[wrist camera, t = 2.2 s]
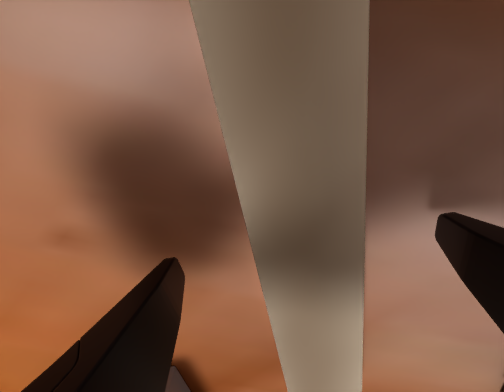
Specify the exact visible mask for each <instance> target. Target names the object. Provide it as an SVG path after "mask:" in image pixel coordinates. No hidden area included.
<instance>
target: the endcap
mask: <svg viewBox="0 0 504 392" xmlns="http://www.w3.org/2000/svg"><path fill="white" fill-rule="evenodd" d="M165 392H191V391H190V389H189V388H188V386H187V385H186V383H185V381H184V380H183V378H182V377H181V375H180V373H179V372H178V370H177V369H176V367H175V366H173V367H170V372H169V376H168V381H167V386H166V390H165Z"/></svg>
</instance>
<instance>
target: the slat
mask: <svg viewBox="0 0 504 392" xmlns="http://www.w3.org/2000/svg"><path fill="white" fill-rule="evenodd" d="M189 2H190V6H191V10H192V14H193V18H194V22H195V26H196V30H197V34H198V38H199V42H200V46H201V50H202V54H203V58H204V62H205V65H206V69H207V73H208V77H209V81H210V85H211V89H212V93H213V97H214V101H215V105H216V109H217V113H218V117H219V121H220V125H221V129H222V133H223V137H224V141H225V145H226V149H227V153H228V156H229V160H230V164H231V168H232V172H233V176H234V180H235V184H236V188H237V192H238V196H239V200H240V204H241V208H242V212H243V216H244V220H245V224H246V228H247V232H248V236H249V240H250V244H251V247H252V251H253V255H254V259H255V263H256V267H257V271H258V275H259V279H260V283H261V287H262V291H263V295H264V299H265V303H266V307H267V311H268V315H269V319H270V323H271V327H272V331H273V335H274V338H275V342H276V346H277V350H278V354H279V358H280V362H281V366H282V370H283V374H284V378H285V382H286V386H287V390H288V392H362V363H363V312H364V260H365V209H366V158H367V106H368V55H369V4H370V0H189Z"/></svg>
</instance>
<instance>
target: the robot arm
mask: <svg viewBox="0 0 504 392" xmlns="http://www.w3.org/2000/svg"><path fill="white" fill-rule="evenodd" d="M435 238H436V241H437V242H438V244H439V245H440V247H441V249H442V250H443V252H444V253H445V255H446V257H447V258H448V260H449V261H450V263H451V264H452V266H453V268H454V269H455V271H456V272H457V274H458V275H459V277H460V278H461V280H462V281H463V282H464V284H465V285H466V286H467V288H468V289H469V290H470V292H471V293H472V294H473V295H474V297H475V298H476V299H477V300H478V302H479V303H480V304H481V306H482V307H483V308H484V309H485V311H486V312H487V313H488V314H489V316H490V317H491V318H492V319H493V321H494V322H495V323H496V324H497V326H498V327H499V328H500V330H501V331H502V332H503V333H504V228H502V227H499V226H496V225H493V224H490V223H487V222H484V221H480V220H477V219H474V218H471V217H468V216H465V215H462V214H459V213H455V212H450V213H444V214H440V215H439V216H438V220H437V225H436V231H435ZM184 283H185V275H184V272H183V270H182V268H181V265H180V263H179V261H178V259H177V258H175V257H173V258H166V259H164V260H163V261H162V262H161V263H160V264H159V265H158V266H156V267H155V268H154V269H153V270H152V271H151V272H150V273H149V274H148V275H147V276H146V277H145V278H144V279H143V280H142V281H141V282H139V283H138V284H137V285H136V286H135V287H134V288H133V289H132V290H131V291H130V292H129V293H128V294H127V295H126V296H125V297H124V298H123V299H121V300H120V301H119V302H118V303H117V304H116V305H115V306H114V307H113V308H112V309H111V310H110V311H109V312H108V313H107V314H106V315H104V316H103V317H102V318H101V319H100V320H99V321H98V322H97V323H96V324H95V325H94V326H93V327H92V328H91V329H90V330H89V331H87V332H86V333H85V334H84V335H83V336H82V337H81V339H80V340H78V341H77V342H76V343H75V344H74V345H73V346H72V347H70V348H69V349H68V350H67V351H66V352H65V353H64V354H63V355H62V356H61V357H60V358H59V359H57V360H56V361H55V362H54V363H53V364H52V365H51V366H50V367H49V368H48V369H46V370H45V371H44V372H43V373H42V374H41V375H40V376H38V377H37V378H36V379H35V380H34V381H33V382H31V383H30V384H29V385H28V386H27V387H26V388H25V389H23V390H22V391H21V392H165V390H166V386H167V381H168V376H169V372H170V367H171V362H172V358H173V353H174V349H175V344H176V339H177V335H178V330H179V325H180V320H181V312H182V302H183V293H184Z"/></svg>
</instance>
